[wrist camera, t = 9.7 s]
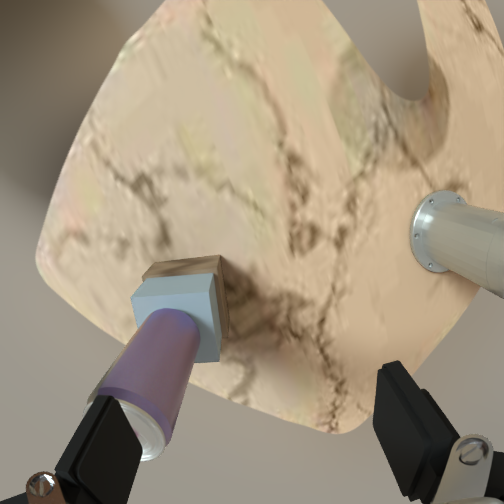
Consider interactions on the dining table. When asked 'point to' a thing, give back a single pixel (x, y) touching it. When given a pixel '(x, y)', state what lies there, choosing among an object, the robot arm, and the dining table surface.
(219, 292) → the base block
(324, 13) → the dining table surface
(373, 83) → the dining table surface
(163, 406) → the beverage can
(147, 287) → the top block
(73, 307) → the dining table surface
